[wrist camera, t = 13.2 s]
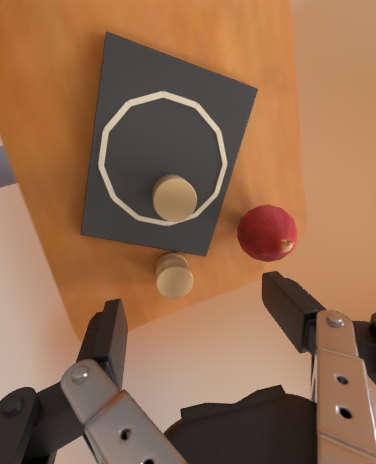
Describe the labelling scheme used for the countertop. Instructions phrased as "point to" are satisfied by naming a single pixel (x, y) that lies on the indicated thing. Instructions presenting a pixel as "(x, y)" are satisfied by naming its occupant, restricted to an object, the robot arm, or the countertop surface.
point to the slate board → (161, 145)
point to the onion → (267, 233)
